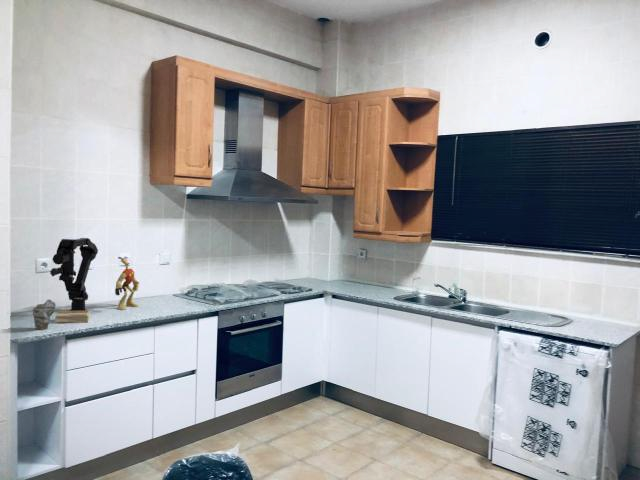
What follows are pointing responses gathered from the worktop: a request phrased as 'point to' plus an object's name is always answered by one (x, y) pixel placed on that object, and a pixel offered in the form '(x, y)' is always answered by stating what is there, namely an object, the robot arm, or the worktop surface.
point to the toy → (126, 286)
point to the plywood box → (72, 317)
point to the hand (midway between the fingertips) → (67, 291)
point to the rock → (43, 314)
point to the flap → (73, 312)
